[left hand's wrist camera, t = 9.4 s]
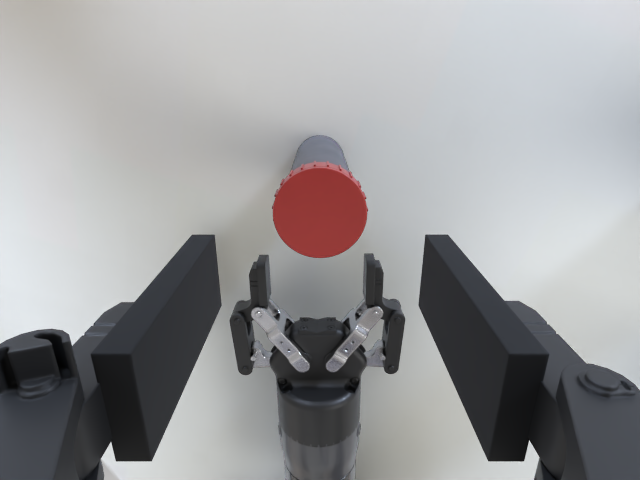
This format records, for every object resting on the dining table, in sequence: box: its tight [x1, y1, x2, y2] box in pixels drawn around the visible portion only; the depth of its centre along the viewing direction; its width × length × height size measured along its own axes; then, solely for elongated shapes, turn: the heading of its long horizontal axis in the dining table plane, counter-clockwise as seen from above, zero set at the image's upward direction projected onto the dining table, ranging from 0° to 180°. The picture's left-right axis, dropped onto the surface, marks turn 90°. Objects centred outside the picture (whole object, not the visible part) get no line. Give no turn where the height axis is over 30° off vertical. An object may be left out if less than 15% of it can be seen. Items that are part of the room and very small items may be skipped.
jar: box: [291, 136, 349, 172], centre depth 28 cm, size 4×4×16 cm
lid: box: [272, 161, 368, 258], centre depth 21 cm, size 5×5×2 cm
